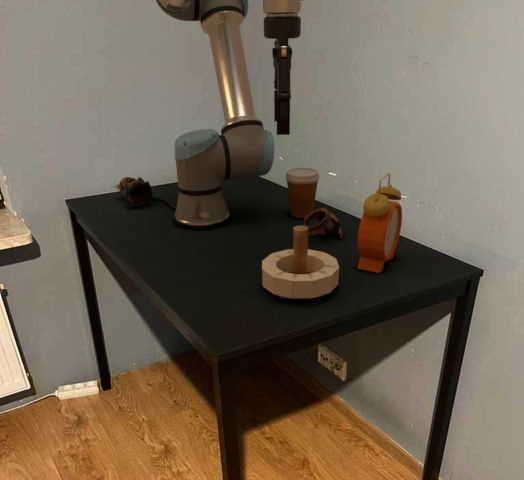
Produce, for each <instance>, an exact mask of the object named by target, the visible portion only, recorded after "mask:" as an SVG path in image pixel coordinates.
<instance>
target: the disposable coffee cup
mask: <svg viewBox="0 0 524 480" xmlns="http://www.w3.org/2000/svg"><path fill="white" fill-rule="evenodd" d="M284 177H285V179H286V184H287V192H288V202H289V211H290V212H289V213H290V216H292V217H294V218H297V219H302V218H303V219H305V217H306V216H307V215H308V214H310V213H311V212H313V211H314V208H315V202H316V196H317V189H318V183H319V180H320V177H321V176H320V174H319V171H318V170H317V169H316V168H309V167H295V168H291V169H288V170H287V171H286V175H285V176H284Z"/></svg>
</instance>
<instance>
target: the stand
mask: <svg viewBox="0 0 524 480" xmlns="http://www.w3.org/2000/svg"><path fill="white" fill-rule="evenodd" d="M292 237H293V238H292V239H293V241H292V249H293V271H292V272H290V273H291V274H311V272H307V256H308V249H309V236H308V227H306V226H303V225H295V226H294V227H293V236H292ZM317 298H324V295H322V296H318V297H317ZM279 299H288V298H287V297H283V296H279Z"/></svg>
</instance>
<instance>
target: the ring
mask: <svg viewBox="0 0 524 480" xmlns="http://www.w3.org/2000/svg"><path fill="white" fill-rule="evenodd" d="M337 259H338V258H336V257H334V256H332V255H331V254H328V253H326V252H325V251H319V250H314V249H309V248H308V256H307V273H311V274H291V273H292V272H293V248H289V249H284V250H280V251H276V252H272V253H270V254H269V255H267V256H266V257H265V258H264V259H262V260H261V278H262V279H261V280H262V281H261V282H262V287H263V288H264V289H266V290H267V291H268V292H270V293H271V294H273V295H274V296H278V297H280V296H283V297H287V298H286V299H291V300H292V299H315V298H319V297H318V296H322V295H323V296H324V295H328V294H330V293H332V292H333V291H334V290H335V289H336V288H337V286H338V285H339V276H340V265H339V262H338V260H337Z"/></svg>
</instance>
